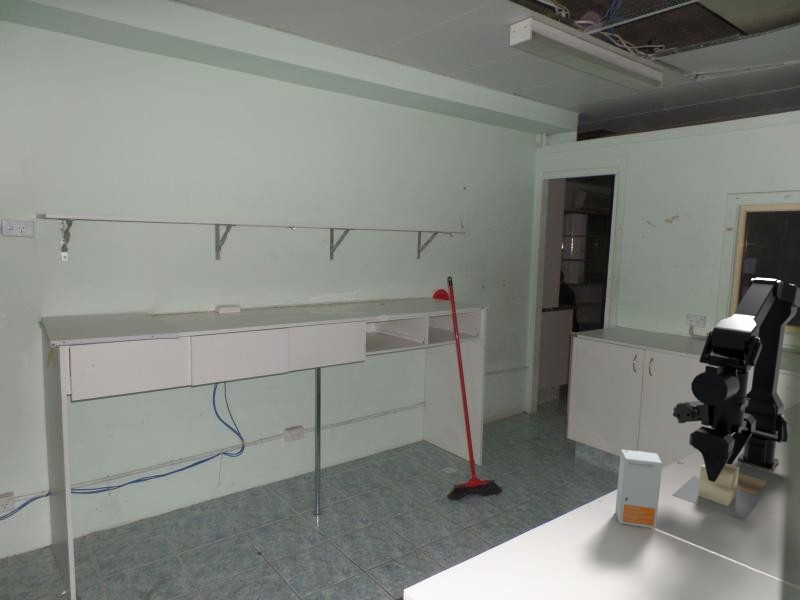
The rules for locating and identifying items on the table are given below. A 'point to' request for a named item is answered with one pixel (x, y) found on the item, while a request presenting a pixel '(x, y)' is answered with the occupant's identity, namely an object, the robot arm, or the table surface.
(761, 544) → the table surface
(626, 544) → the table surface
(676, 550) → the table surface
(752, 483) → the pad
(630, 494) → the skincare box
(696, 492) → the tile
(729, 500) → the birch block
